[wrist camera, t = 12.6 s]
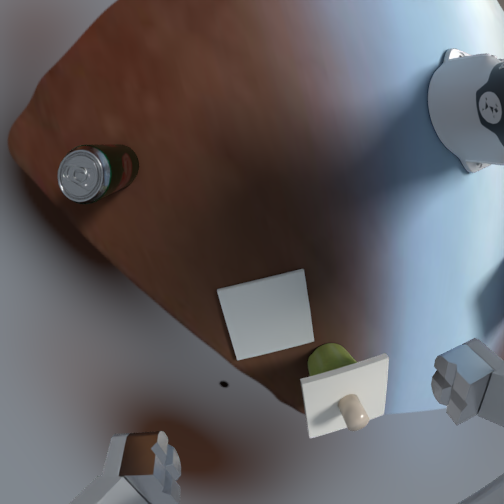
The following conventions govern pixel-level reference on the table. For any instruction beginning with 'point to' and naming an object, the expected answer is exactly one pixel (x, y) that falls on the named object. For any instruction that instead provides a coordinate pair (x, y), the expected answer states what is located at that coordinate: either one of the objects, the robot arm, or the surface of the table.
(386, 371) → the lid
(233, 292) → the mat
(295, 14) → the table surface
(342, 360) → the plant pot
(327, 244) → the table surface
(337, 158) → the table surface
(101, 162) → the soda can
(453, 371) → the robot arm
